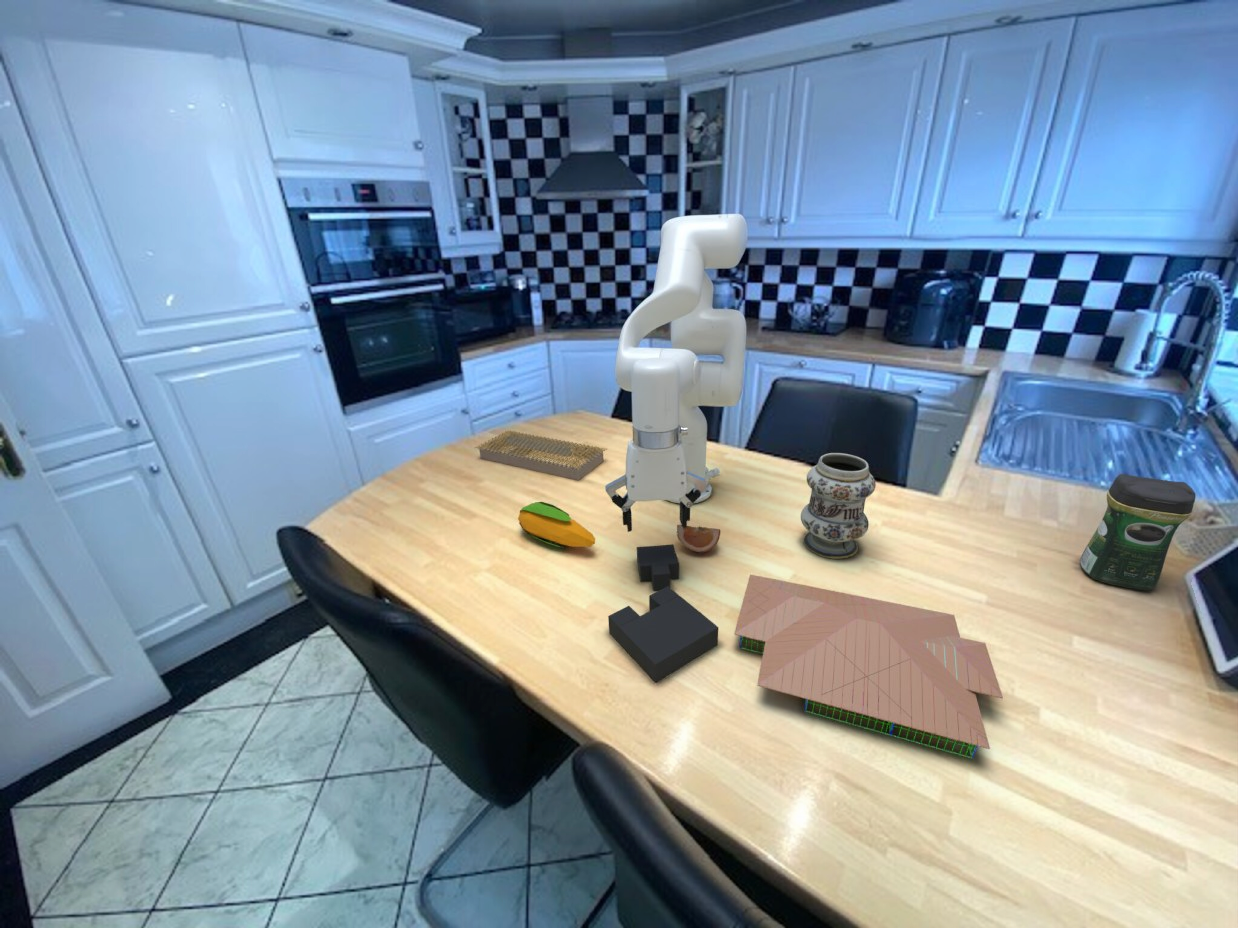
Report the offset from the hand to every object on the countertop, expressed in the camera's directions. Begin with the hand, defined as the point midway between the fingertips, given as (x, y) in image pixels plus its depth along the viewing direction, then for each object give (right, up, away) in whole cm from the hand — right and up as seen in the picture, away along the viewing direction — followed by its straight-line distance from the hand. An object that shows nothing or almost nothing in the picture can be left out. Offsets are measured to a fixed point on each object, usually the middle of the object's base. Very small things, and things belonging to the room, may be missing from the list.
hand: (656, 525), depth 90 cm
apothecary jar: (+35, -5, +10) cm, 37 cm away
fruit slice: (+9, -6, +11) cm, 15 cm away
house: (+27, -18, -16) cm, 36 cm away
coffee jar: (+79, -9, -2) cm, 80 cm away
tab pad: (+1, -10, +4) cm, 10 cm away
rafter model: (-28, +12, +52) cm, 60 cm away
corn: (-19, -5, +15) cm, 25 cm away
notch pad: (0, -16, -11) cm, 20 cm away
